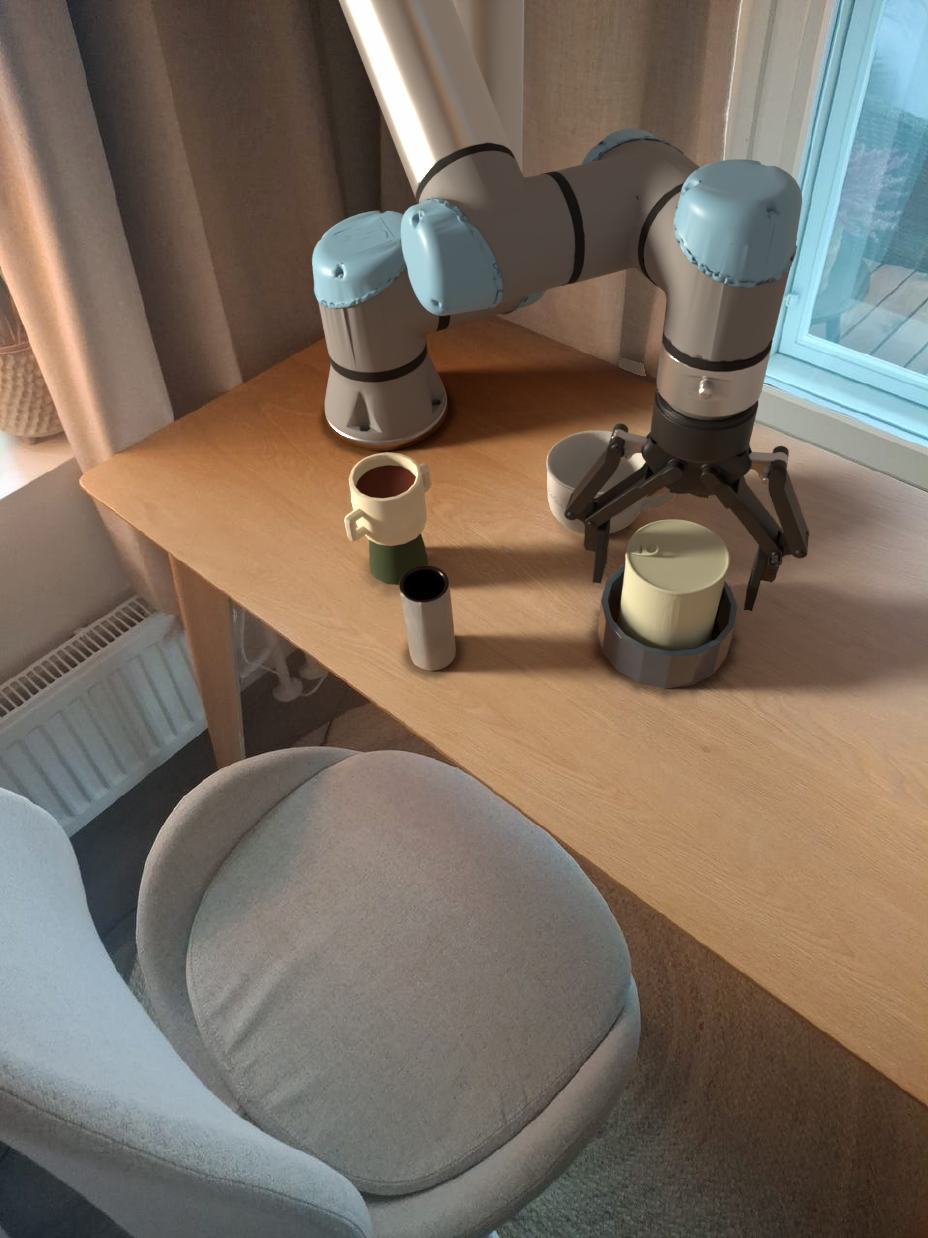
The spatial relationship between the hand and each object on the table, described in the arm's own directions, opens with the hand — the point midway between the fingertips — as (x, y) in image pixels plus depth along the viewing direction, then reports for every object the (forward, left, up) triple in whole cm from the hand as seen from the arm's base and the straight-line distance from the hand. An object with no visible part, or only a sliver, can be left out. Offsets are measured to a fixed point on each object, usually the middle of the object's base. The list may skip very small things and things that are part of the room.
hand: (673, 586), depth 83 cm
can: (0, 0, -8) cm, 8 cm away
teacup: (-17, +5, -8) cm, 19 cm away
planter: (-10, -20, -8) cm, 24 cm away
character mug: (-22, -18, -8) cm, 29 cm away
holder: (0, 0, -8) cm, 8 cm away
